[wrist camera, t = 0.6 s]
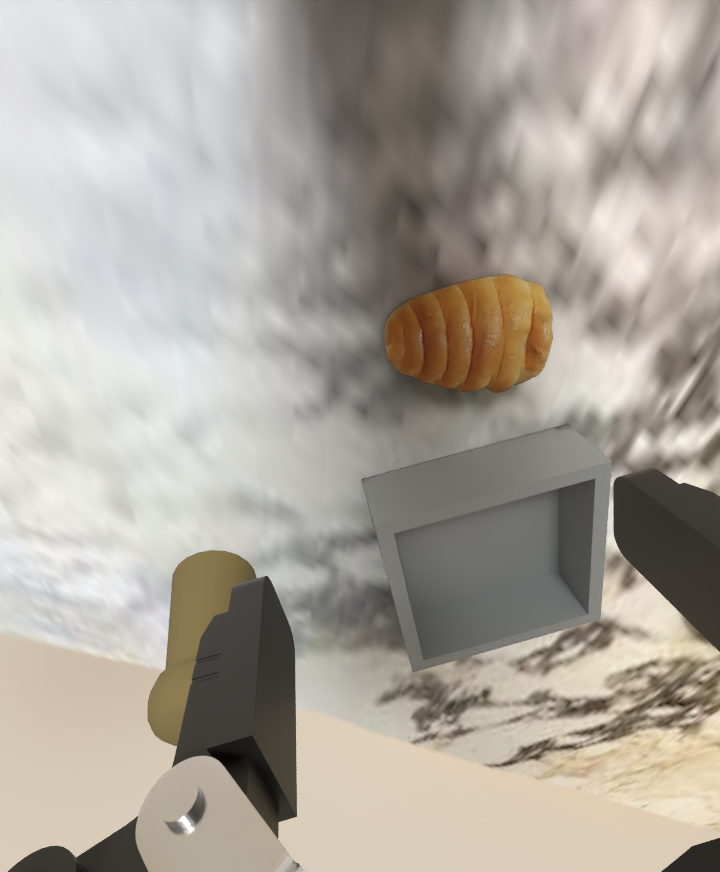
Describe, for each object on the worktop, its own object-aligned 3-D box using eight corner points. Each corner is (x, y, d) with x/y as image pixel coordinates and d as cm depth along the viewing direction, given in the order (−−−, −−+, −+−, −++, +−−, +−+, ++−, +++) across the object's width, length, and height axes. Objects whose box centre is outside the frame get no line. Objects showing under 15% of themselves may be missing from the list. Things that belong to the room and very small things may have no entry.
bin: (361, 479, 33) (374, 525, 28) (567, 423, 33) (611, 461, 29) (398, 618, 40) (412, 672, 36) (565, 571, 41) (600, 619, 36)
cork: (272, 583, 36) (271, 730, 27) (210, 621, 37) (187, 775, 27) (219, 536, 33) (196, 682, 24) (153, 578, 34) (105, 734, 25)
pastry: (380, 387, 30) (393, 413, 26) (381, 276, 27) (396, 289, 23) (520, 376, 31) (550, 400, 28) (537, 269, 28) (573, 281, 24)
